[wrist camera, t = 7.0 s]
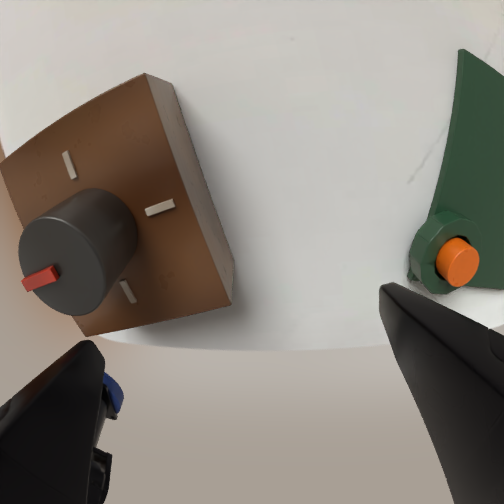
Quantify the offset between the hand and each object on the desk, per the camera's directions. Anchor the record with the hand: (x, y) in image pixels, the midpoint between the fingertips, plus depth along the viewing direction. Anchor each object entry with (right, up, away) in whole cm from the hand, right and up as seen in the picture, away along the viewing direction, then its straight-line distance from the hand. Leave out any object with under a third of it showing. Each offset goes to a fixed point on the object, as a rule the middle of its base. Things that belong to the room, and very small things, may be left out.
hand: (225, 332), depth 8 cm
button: (+15, +2, +10) cm, 18 cm away
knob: (-7, +3, +5) cm, 9 cm away
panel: (-7, +6, +10) cm, 13 cm away
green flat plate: (+21, +8, +9) cm, 24 cm away
